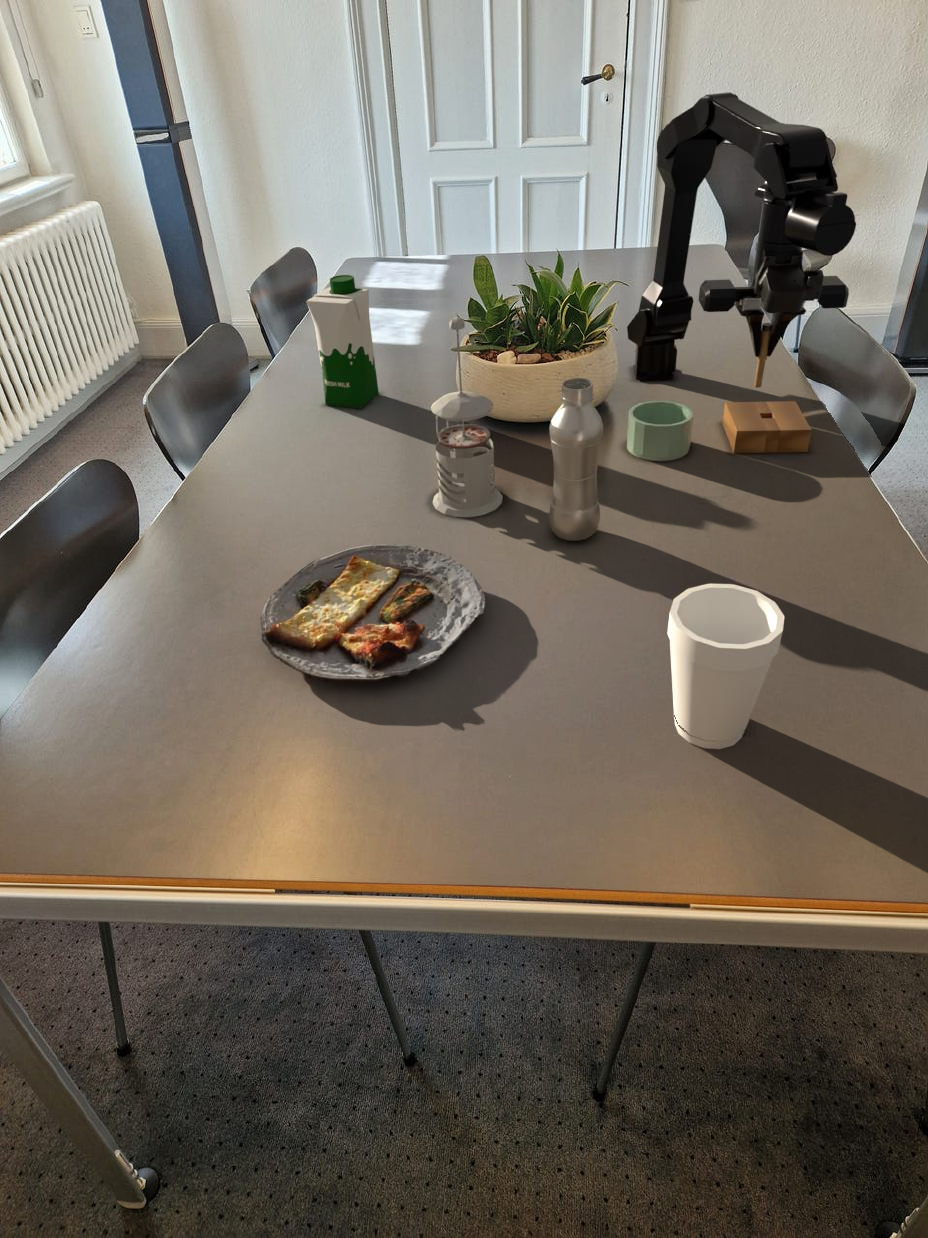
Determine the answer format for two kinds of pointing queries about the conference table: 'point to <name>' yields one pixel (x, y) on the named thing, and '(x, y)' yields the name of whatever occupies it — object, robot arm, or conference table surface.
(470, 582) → the food plate
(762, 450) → the stand
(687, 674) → the foam cup
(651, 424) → the cup
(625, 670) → the conference table surface
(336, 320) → the milk carton
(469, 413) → the french press
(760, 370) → the tan brown rod
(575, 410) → the silver metal bottle
